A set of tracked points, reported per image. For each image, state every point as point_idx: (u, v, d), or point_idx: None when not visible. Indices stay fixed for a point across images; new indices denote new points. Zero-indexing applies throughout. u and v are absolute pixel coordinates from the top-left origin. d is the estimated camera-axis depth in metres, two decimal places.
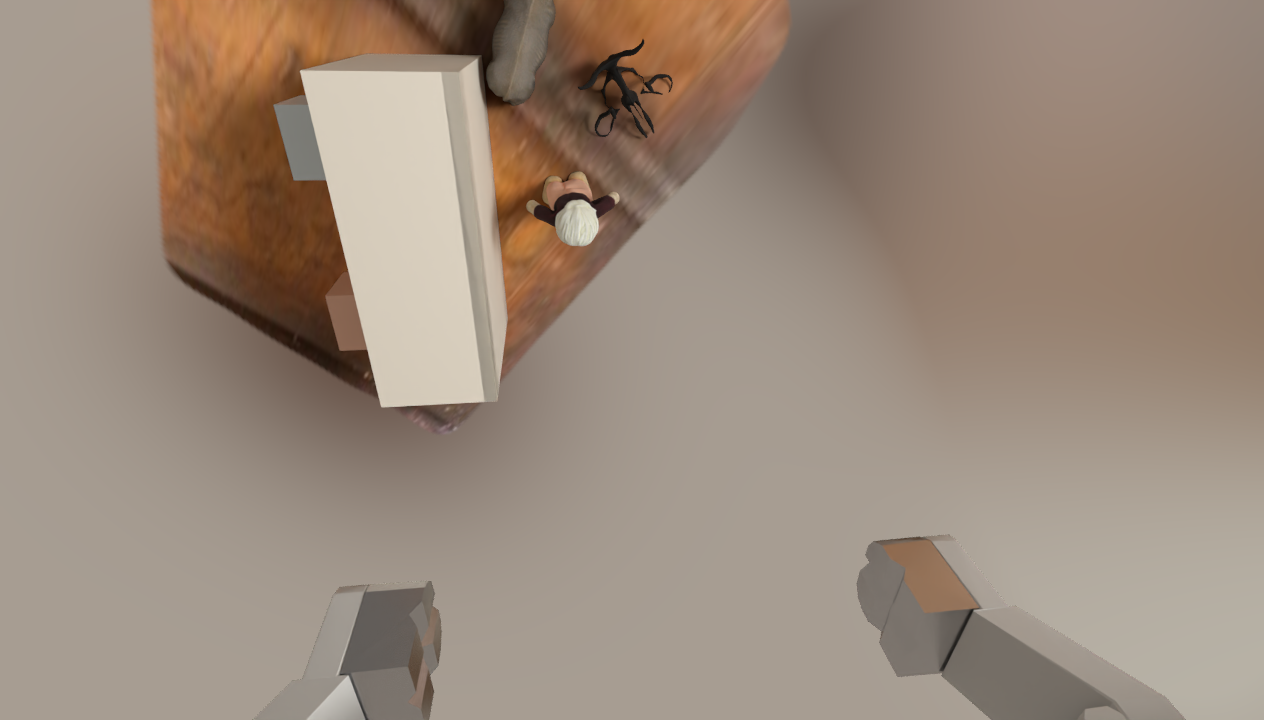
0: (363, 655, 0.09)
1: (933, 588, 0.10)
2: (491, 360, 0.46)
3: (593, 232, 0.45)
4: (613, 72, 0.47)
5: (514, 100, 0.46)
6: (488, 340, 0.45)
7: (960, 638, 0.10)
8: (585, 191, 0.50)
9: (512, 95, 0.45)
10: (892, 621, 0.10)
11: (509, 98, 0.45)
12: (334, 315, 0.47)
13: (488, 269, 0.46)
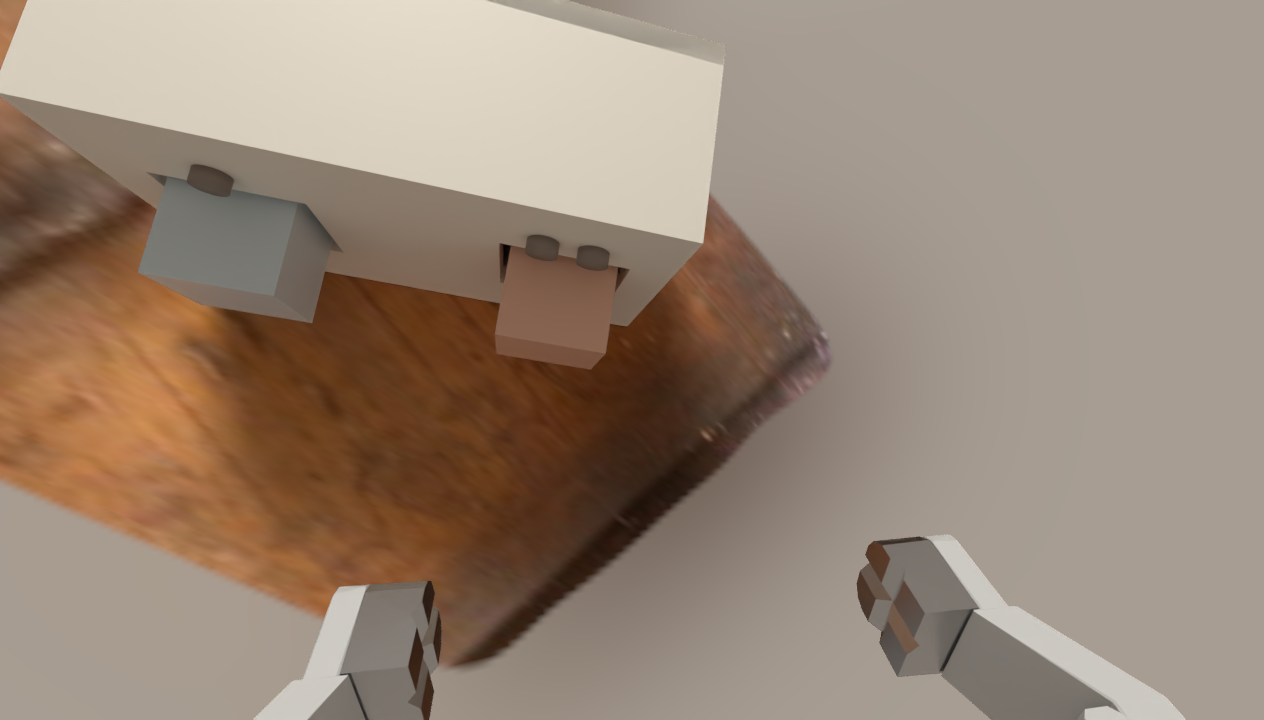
0: (363, 656, 0.09)
1: (933, 588, 0.10)
2: (638, 22, 0.24)
3: None
4: None
5: None
6: (596, 12, 0.24)
7: (959, 637, 0.10)
8: None
9: None
10: (892, 621, 0.10)
11: None
12: (534, 334, 0.26)
13: None
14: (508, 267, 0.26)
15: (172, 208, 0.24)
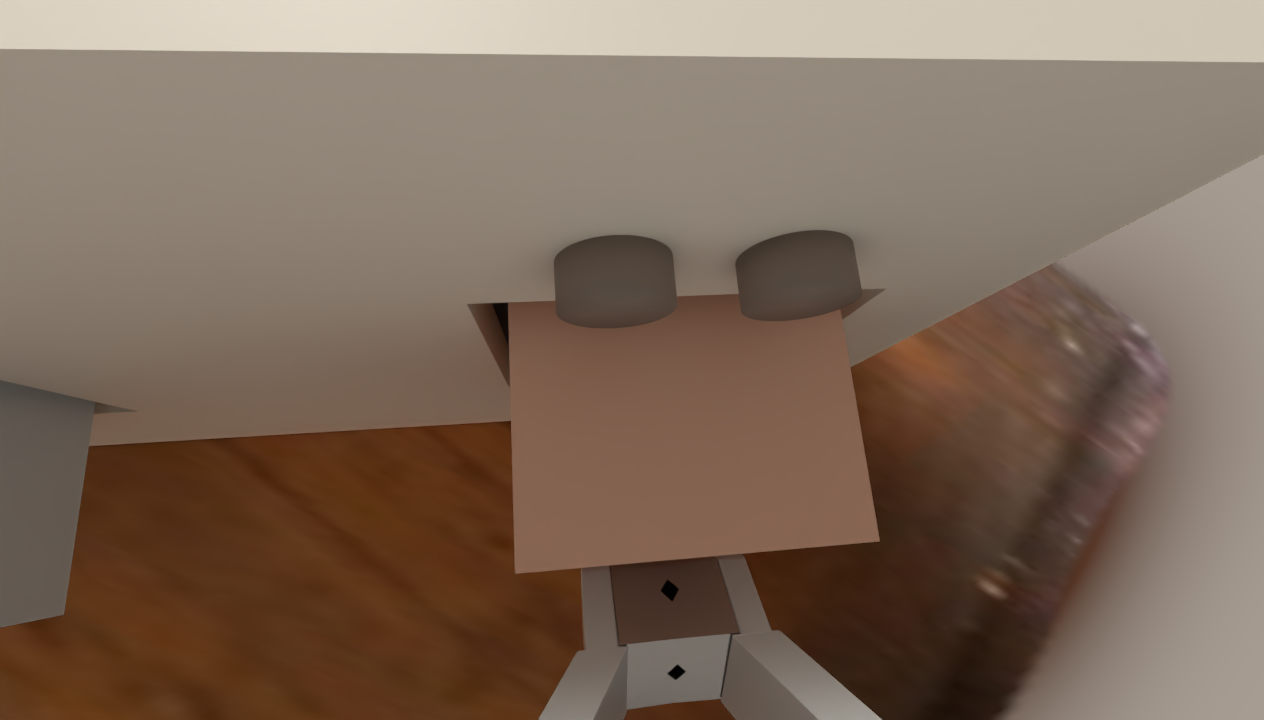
0: (634, 628, 0.09)
1: (699, 611, 0.09)
2: None
3: None
4: None
5: None
6: None
7: (727, 663, 0.09)
8: None
9: None
10: None
11: None
12: (643, 539, 0.08)
13: None
14: (514, 341, 0.08)
15: None
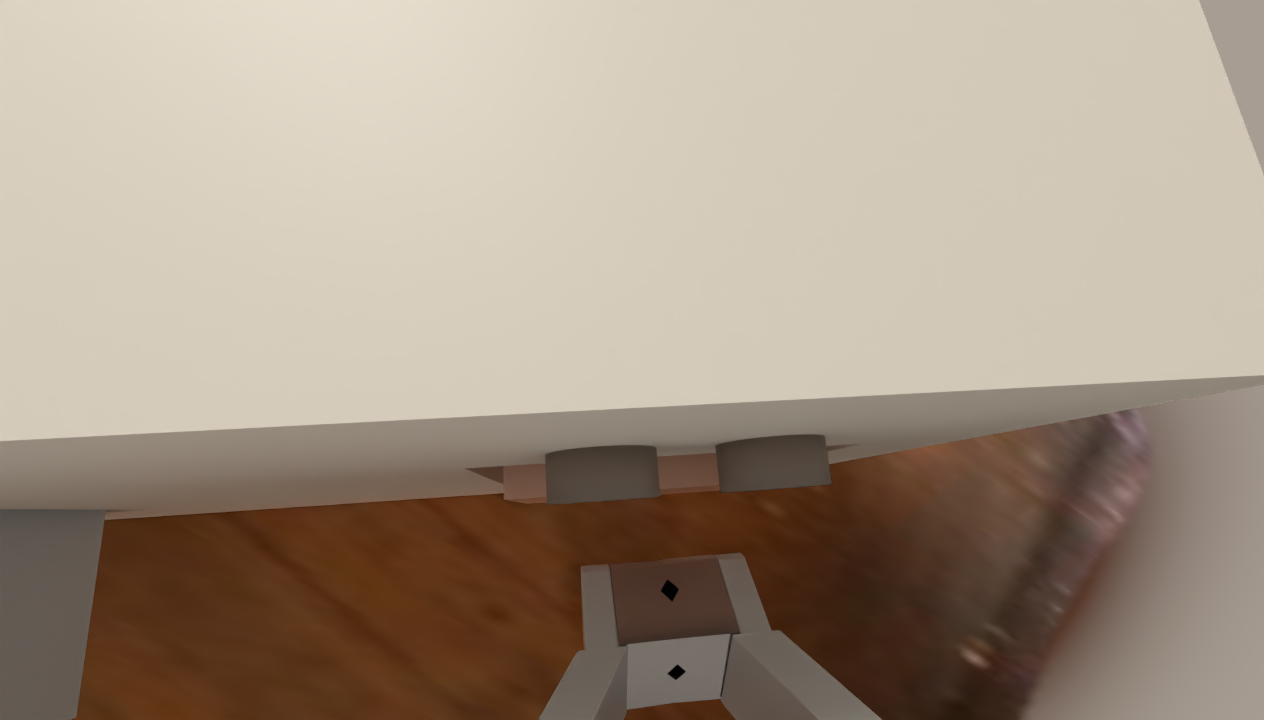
0: (634, 628, 0.09)
1: (699, 611, 0.09)
2: None
3: None
4: None
5: None
6: None
7: (727, 663, 0.09)
8: None
9: None
10: None
11: None
12: None
13: None
14: None
15: None
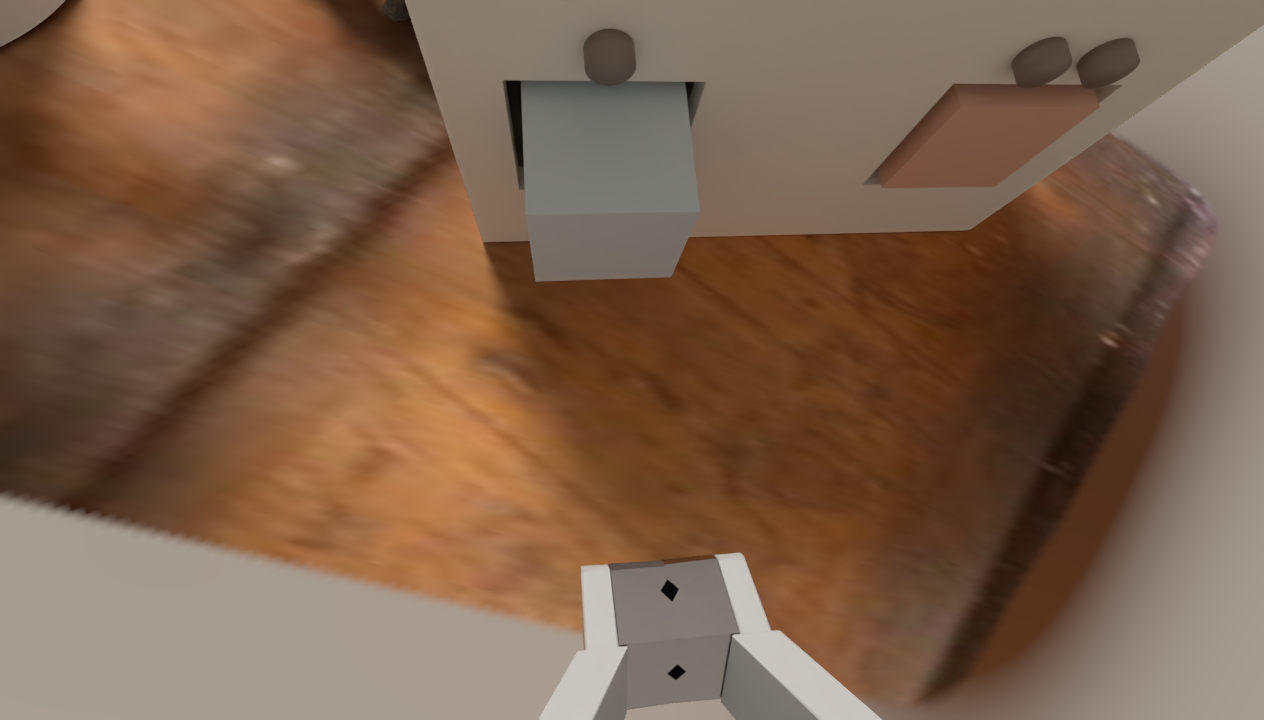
0: (634, 627, 0.09)
1: (699, 611, 0.09)
2: None
3: None
4: None
5: None
6: None
7: (727, 663, 0.09)
8: None
9: None
10: None
11: None
12: (1007, 99, 0.19)
13: None
14: None
15: (540, 125, 0.17)
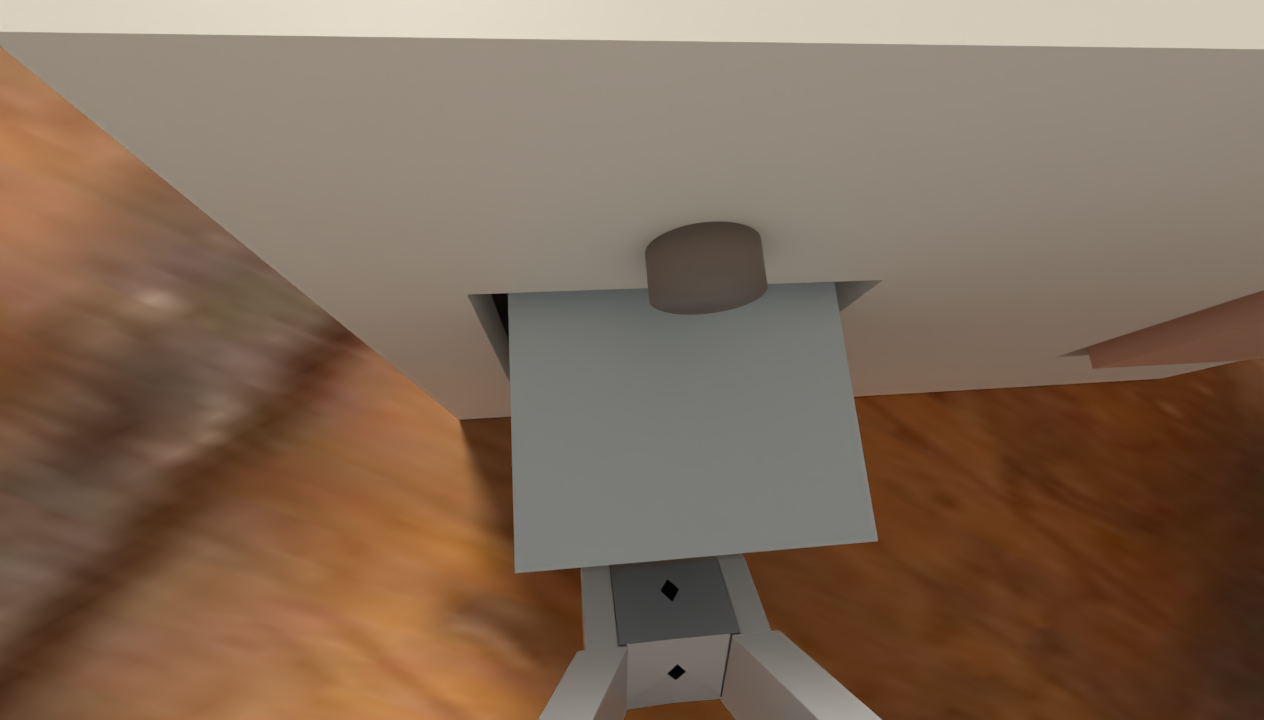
0: (634, 628, 0.09)
1: (699, 611, 0.09)
2: None
3: None
4: None
5: None
6: None
7: (727, 663, 0.09)
8: None
9: None
10: None
11: None
12: None
13: None
14: None
15: (546, 358, 0.08)
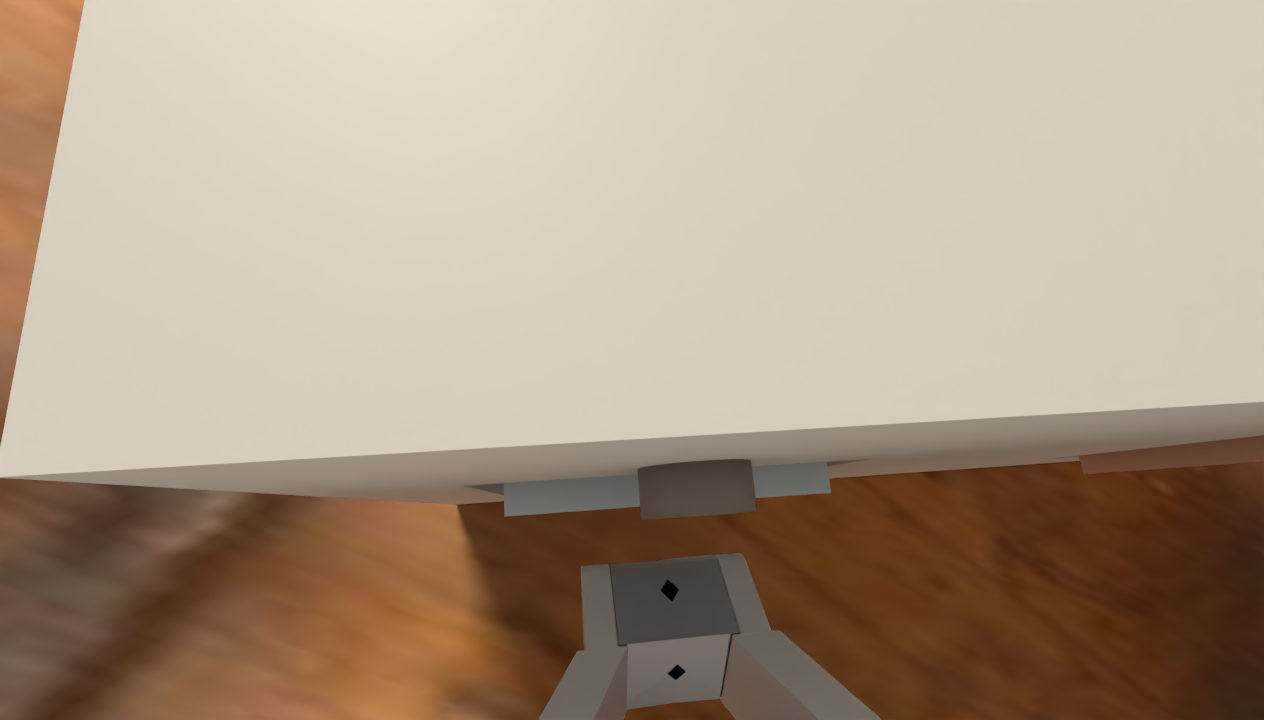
0: (634, 628, 0.09)
1: (699, 611, 0.09)
2: None
3: None
4: None
5: None
6: None
7: (727, 663, 0.09)
8: None
9: None
10: None
11: None
12: None
13: None
14: None
15: None
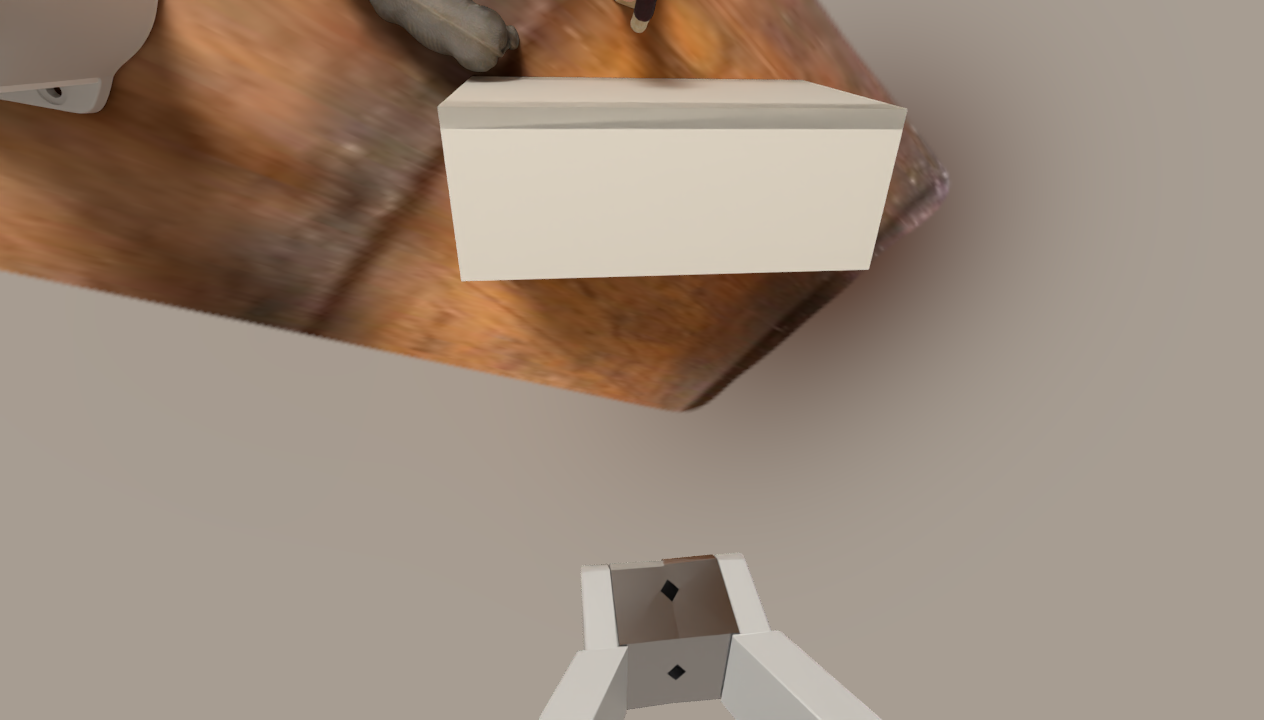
0: (634, 628, 0.09)
1: (699, 611, 0.09)
2: (837, 110, 0.30)
3: None
4: None
5: (501, 41, 0.36)
6: (805, 110, 0.30)
7: (727, 663, 0.09)
8: None
9: (494, 42, 0.36)
10: None
11: (497, 47, 0.36)
12: None
13: (708, 98, 0.33)
14: None
15: None
